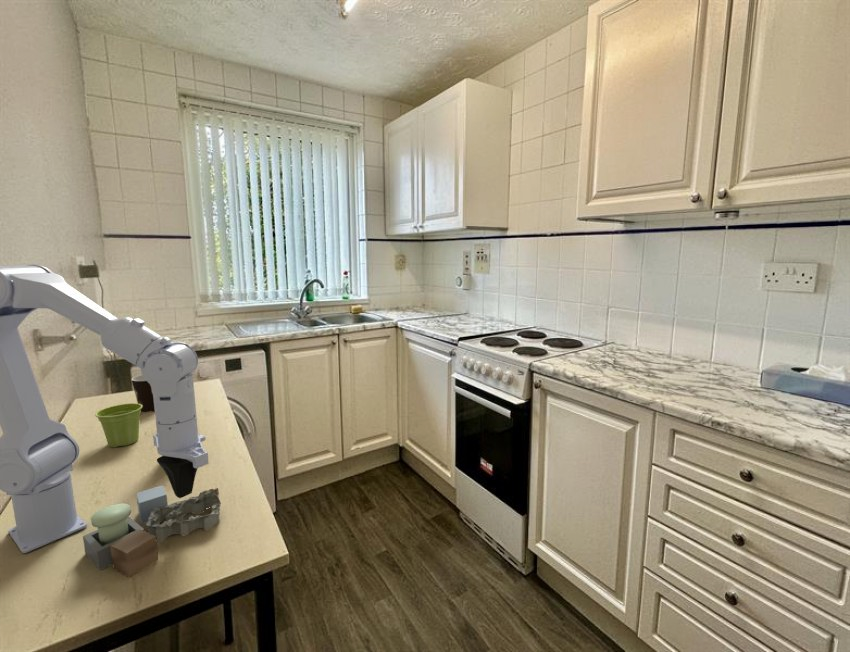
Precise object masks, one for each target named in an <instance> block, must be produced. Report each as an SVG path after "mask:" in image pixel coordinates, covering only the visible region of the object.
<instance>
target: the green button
mask: <svg viewBox="0 0 850 652" xmlns="http://www.w3.org/2000/svg"><path fill="white" fill-rule="evenodd" d="M131 512H132V511H131V505H130V504H128V503H116V504H112V505H108V506H106V507H103V508H101V509H99V510H97V511H95V513H94V514H93V515H92V516H91V517H90V521H91V526H92V527H94V528H97V530H98V534H99V541H100V545H101V546H104V545H106V544H108V543H110V542H112V541H115V540H117V539H119V538H121V537H123V536H125V535H127V534H129V531H128V523H127V517H128V516H129V517H130V516H131V514H132V513H131Z"/></svg>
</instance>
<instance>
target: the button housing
mask: <svg viewBox="0 0 850 652" xmlns="http://www.w3.org/2000/svg"><path fill="white" fill-rule="evenodd" d="M127 523H128V531H129V534H131V533H133V532H135V531H136V530H138V529H140V530H143V531H145V529H144V528H143V527H142V526H141V525H140V524H138V522H136V521H135V520H134V519H132V518H131V517H130V515H129V516H128V517H127ZM129 534H127V535H129ZM127 535H125V536H123V537H121V538H119V539H117V540H115V541H112V542H110V543H108V544H106V545H104V546H101V545H100V541H99V534H98V529H95V530H94V531H91V532H89V533H87V534H85V535H83V536H82V539H83V546H84V554H85V556H87V557H88V559H89V560H91V562H92V563H93V564H94V565H95V566H96V568H97V569H98V570H99V571H101V570H104V569H105V568H107V567H109V566H112V565H113V563H112V555H111V548H110V545H112V544H113V543H115V542H117V541H119V540H120V539H122V538H124V537H126V536H127Z"/></svg>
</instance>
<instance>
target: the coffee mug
mask: <svg viewBox="0 0 850 652" xmlns="http://www.w3.org/2000/svg"><path fill="white" fill-rule="evenodd" d="M131 383H132V387H133V390H134V391H133V392H134V394H135V395H134V396H135V398H136V403H138V404H141V405H142V406H143V407H142V409H141V412H143V413H148V412H150V411H151V412H155V408H154V399H153V393H152V389H151V385H150V384H149V383H148V382H147V381H146V380H145V378H144V377H143V375H142V374H141V375H137V376H133V377H132V378H131Z"/></svg>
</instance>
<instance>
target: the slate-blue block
mask: <svg viewBox="0 0 850 652" xmlns="http://www.w3.org/2000/svg"><path fill="white" fill-rule="evenodd" d="M135 496H136V501H137V503H136V504H137V509H138V510H137V511H138V515H139V519H140V523H141V525H144V524H147V521H148V519H149V516H150V514H151V512H152V510H153V508H159V507H161V509H162V508H163V507H165V506H168V505H169V504H168V496H167V492H166V490H165V487H164V485H163V484H162V485H158V486H156V487H152V488H149V489H146V490H142V491H139V492H137V493H136V495H135Z"/></svg>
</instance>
